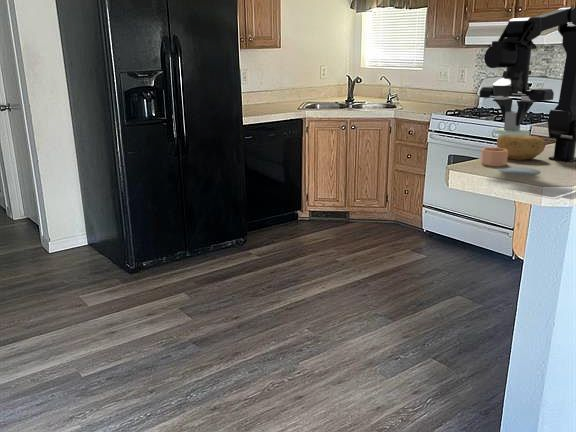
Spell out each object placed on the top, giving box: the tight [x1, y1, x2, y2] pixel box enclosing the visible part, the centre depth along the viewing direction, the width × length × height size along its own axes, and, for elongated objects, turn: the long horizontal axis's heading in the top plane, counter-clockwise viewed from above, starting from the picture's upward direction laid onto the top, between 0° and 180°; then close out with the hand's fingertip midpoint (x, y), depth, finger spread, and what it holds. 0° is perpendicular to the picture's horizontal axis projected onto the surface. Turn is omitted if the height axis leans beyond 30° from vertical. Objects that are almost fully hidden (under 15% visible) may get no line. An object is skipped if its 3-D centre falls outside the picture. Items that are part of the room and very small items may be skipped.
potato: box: [496, 134, 546, 161], centre depth 169 cm, size 10×14×8 cm
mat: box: [497, 166, 542, 176], centre depth 153 cm, size 11×11×1 cm
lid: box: [493, 110, 530, 135], centre depth 154 cm, size 9×9×6 cm
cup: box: [479, 146, 509, 167], centre depth 163 cm, size 7×7×4 cm
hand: (512, 125), depth 154 cm, fingers closed on lid, 3 cm apart
